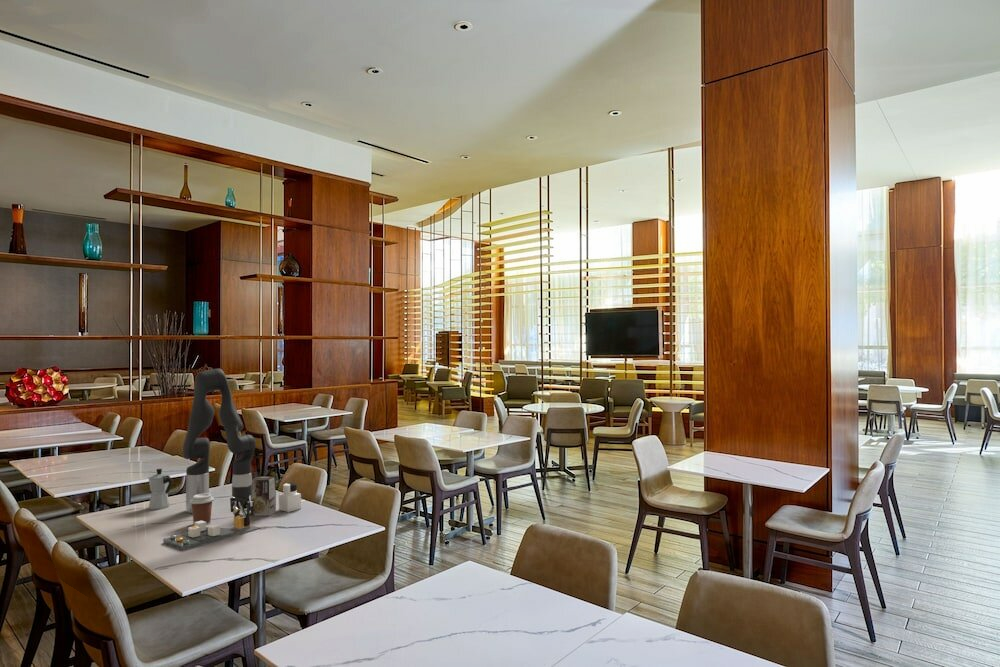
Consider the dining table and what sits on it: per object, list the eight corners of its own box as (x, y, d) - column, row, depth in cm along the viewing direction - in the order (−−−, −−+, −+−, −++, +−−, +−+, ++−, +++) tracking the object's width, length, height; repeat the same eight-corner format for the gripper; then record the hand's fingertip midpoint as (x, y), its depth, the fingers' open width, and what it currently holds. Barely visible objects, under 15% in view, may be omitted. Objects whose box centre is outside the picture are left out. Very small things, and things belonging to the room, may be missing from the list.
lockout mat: (223, 530, 237) (223, 529, 237) (246, 524, 245) (246, 523, 245) (237, 535, 231) (237, 534, 231) (260, 528, 239) (260, 527, 239)
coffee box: (276, 512, 263) (276, 476, 263) (269, 516, 256) (269, 479, 257) (257, 511, 264) (257, 476, 264) (249, 515, 257) (249, 479, 258)
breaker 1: (194, 530, 232) (194, 522, 232) (201, 528, 234) (201, 520, 234) (199, 531, 230) (199, 523, 230) (206, 529, 232) (206, 521, 232)
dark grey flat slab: (163, 542, 223) (163, 536, 223) (214, 529, 239) (214, 522, 239) (183, 550, 214) (183, 543, 214) (234, 535, 230) (234, 529, 230)
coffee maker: (140, 508, 270) (141, 469, 271) (158, 503, 278) (158, 466, 279) (163, 511, 264) (163, 472, 265) (180, 506, 273) (180, 468, 273)
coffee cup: (185, 527, 242) (185, 498, 242) (196, 520, 251) (196, 492, 251) (207, 526, 242) (207, 498, 242) (217, 520, 251) (217, 492, 251)
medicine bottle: (292, 506, 272) (292, 480, 272) (301, 508, 268) (301, 482, 268) (278, 510, 266) (278, 483, 266) (287, 512, 262) (287, 486, 262)
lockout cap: (233, 529, 237) (233, 514, 237) (244, 526, 241) (244, 512, 241) (239, 531, 235) (239, 516, 235) (250, 528, 238) (250, 514, 239)
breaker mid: (188, 535, 225) (188, 527, 225) (195, 533, 227) (195, 525, 227) (192, 537, 223) (192, 528, 223) (200, 535, 225) (200, 526, 225)
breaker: (207, 534, 226) (207, 526, 226) (214, 532, 228) (214, 524, 228) (212, 536, 224) (212, 528, 224) (219, 534, 226) (219, 526, 226)
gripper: (223, 483, 239) (223, 524, 239) (243, 488, 231) (243, 530, 231) (240, 480, 245) (240, 519, 245) (260, 484, 237) (260, 525, 237)
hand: (242, 524), depth 238 cm, fingers open, 6 cm apart
